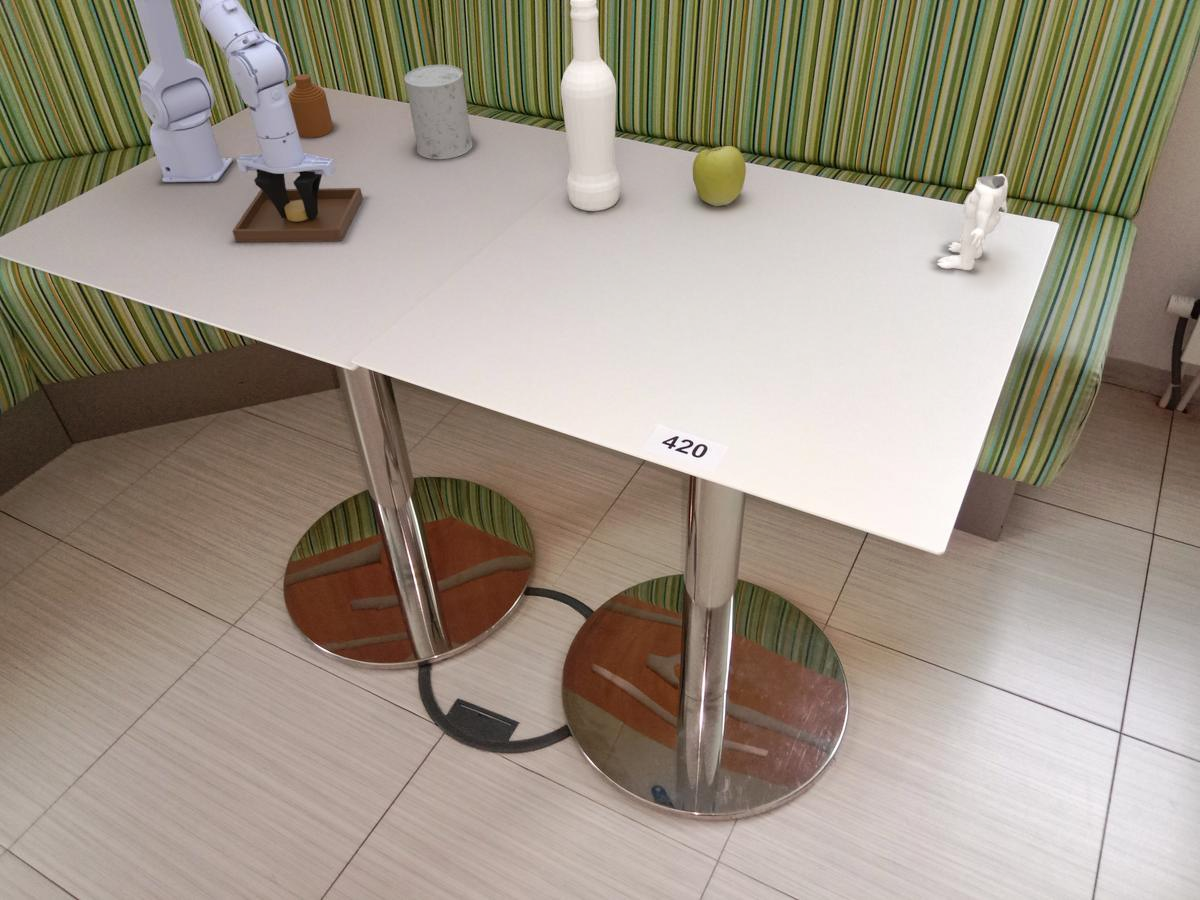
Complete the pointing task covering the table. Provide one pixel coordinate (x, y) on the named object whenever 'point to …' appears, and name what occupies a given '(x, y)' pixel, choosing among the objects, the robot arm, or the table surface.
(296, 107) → the amber bottle
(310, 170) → the robot arm
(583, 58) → the bottle
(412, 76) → the gray speckled cylinder
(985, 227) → the toy creature
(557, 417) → the table surface
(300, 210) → the cap
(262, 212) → the tray
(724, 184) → the apple
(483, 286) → the table surface
